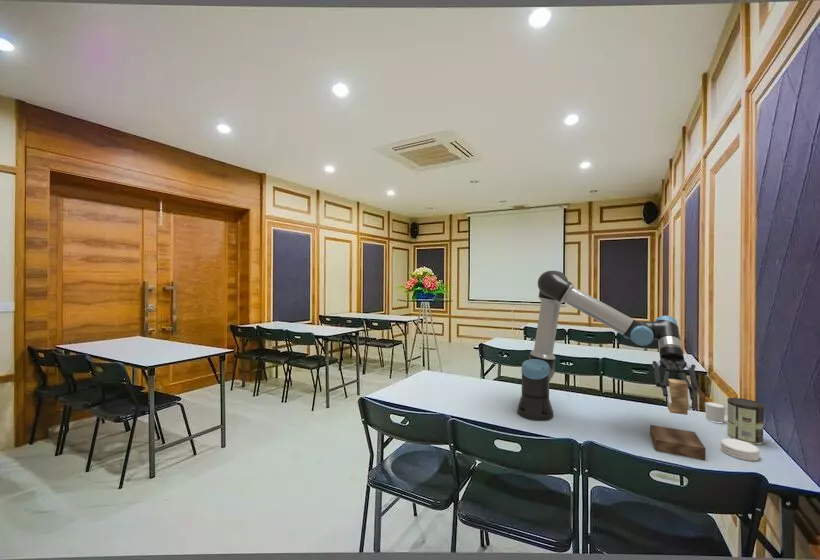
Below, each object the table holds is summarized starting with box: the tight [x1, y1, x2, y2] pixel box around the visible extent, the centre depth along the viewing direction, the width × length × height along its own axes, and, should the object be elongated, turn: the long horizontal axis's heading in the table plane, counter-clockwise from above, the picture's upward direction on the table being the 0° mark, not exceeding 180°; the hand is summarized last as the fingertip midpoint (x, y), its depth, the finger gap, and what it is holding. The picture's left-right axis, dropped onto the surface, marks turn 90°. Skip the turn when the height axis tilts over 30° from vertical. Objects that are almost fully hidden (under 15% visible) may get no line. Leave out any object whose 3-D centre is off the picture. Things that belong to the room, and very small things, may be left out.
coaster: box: [720, 438, 761, 462], centre depth 125 cm, size 10×10×4 cm
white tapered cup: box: [704, 401, 727, 422], centre depth 153 cm, size 7×7×7 cm
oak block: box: [667, 378, 689, 416], centre depth 130 cm, size 5×5×11 cm
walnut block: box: [649, 424, 707, 461], centre depth 130 cm, size 14×14×4 cm
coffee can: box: [726, 397, 765, 446], centre depth 137 cm, size 10×10×14 cm
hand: (679, 405), depth 127 cm, fingers closed on oak block, 5 cm apart
